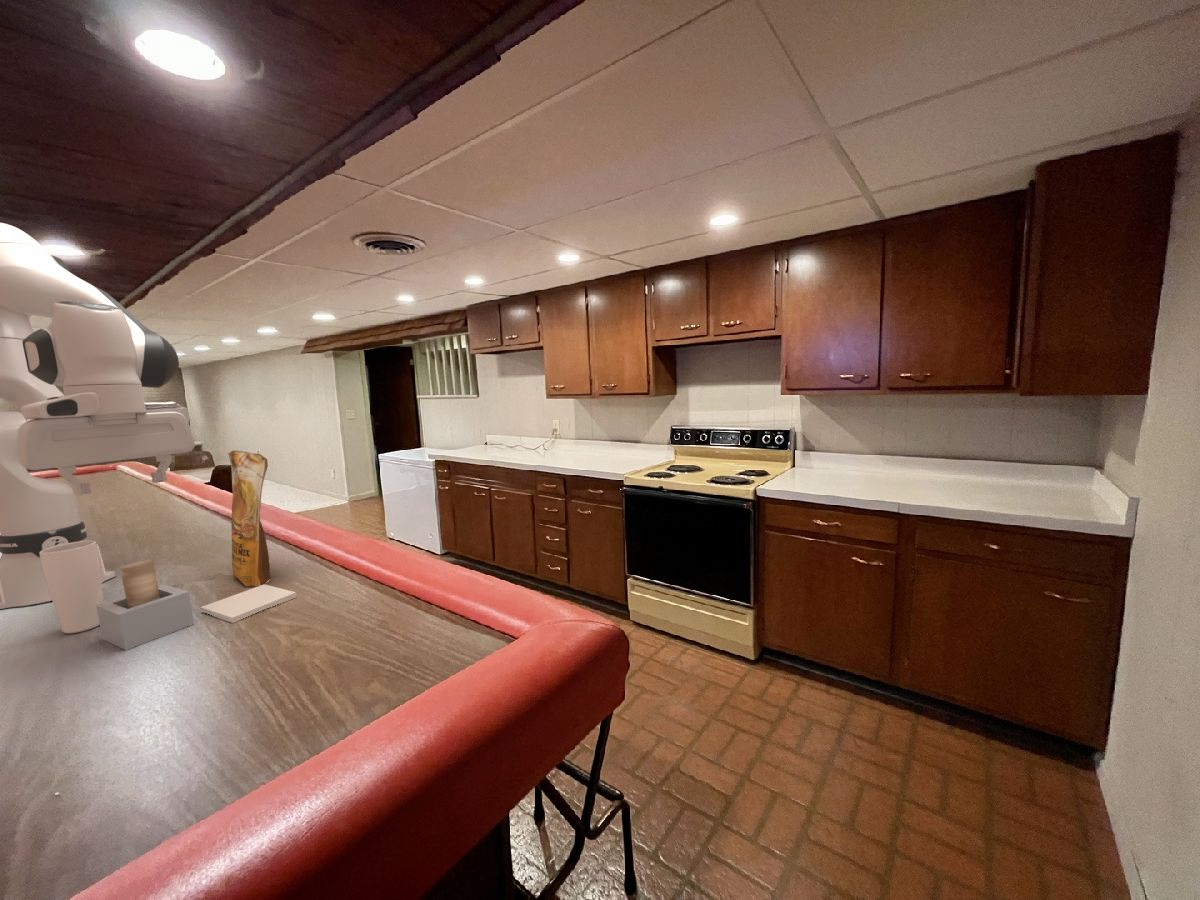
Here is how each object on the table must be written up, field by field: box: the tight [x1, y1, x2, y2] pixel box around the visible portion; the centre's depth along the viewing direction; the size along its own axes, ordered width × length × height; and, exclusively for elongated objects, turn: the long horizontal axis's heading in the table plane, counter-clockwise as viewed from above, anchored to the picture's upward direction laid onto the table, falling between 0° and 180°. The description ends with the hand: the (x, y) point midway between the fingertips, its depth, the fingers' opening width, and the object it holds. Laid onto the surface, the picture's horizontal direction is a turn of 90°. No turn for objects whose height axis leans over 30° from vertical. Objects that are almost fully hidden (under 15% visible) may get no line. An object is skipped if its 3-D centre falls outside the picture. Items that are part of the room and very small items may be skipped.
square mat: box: [200, 584, 297, 624], centre depth 90 cm, size 11×11×1 cm
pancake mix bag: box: [227, 450, 271, 588], centre depth 103 cm, size 7×19×28 cm, turn 48°
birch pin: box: [120, 560, 160, 609], centre depth 80 cm, size 4×4×12 cm
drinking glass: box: [39, 540, 104, 634], centre depth 83 cm, size 7×7×15 cm
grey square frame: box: [96, 584, 195, 651], centre depth 81 cm, size 9×9×6 cm
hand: (123, 487), depth 78 cm, fingers open, 8 cm apart
